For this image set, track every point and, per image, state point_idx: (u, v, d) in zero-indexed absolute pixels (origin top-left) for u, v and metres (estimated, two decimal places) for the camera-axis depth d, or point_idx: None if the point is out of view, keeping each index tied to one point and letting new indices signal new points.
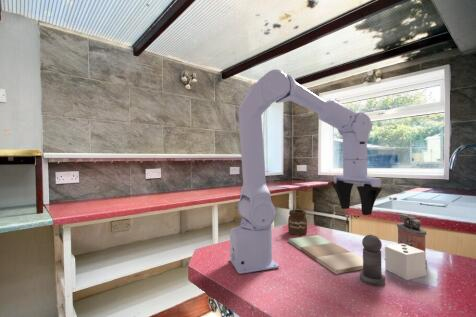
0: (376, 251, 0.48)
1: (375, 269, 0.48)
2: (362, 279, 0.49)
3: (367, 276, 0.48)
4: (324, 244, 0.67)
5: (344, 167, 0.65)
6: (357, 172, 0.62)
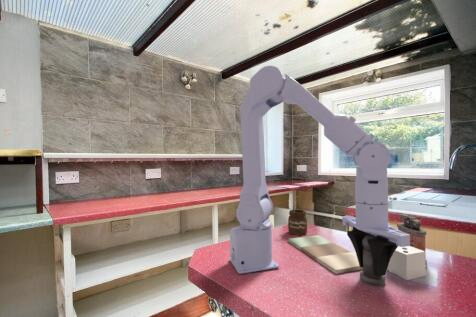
0: None
1: None
2: (362, 279, 0.49)
3: (367, 276, 0.48)
4: (324, 244, 0.67)
5: (357, 212, 0.49)
6: (375, 221, 0.46)
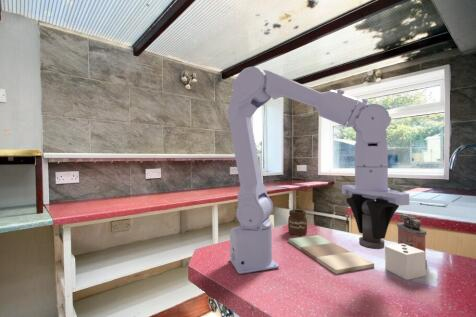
0: None
1: None
2: (361, 243, 0.49)
3: (366, 240, 0.48)
4: (324, 244, 0.67)
5: (357, 177, 0.49)
6: (375, 184, 0.46)
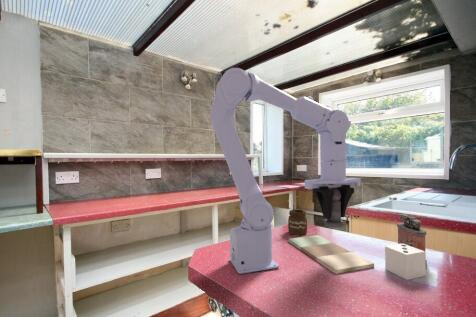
0: None
1: None
2: None
3: None
4: (324, 244, 0.67)
5: None
6: None
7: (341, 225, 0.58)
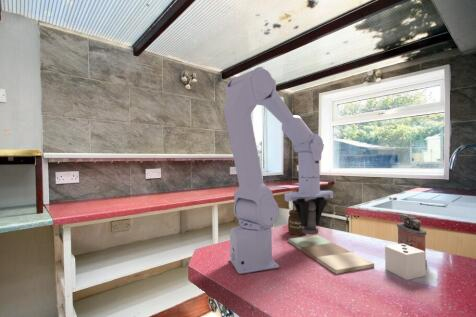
0: None
1: None
2: None
3: None
4: (324, 244, 0.67)
5: None
6: None
7: (315, 232, 0.68)
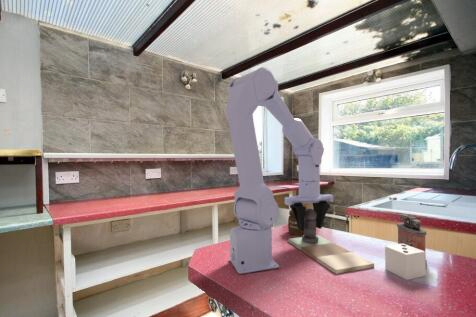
0: (305, 218, 0.70)
1: (304, 230, 0.70)
2: None
3: None
4: (324, 244, 0.67)
5: None
6: None
7: (315, 241, 0.68)
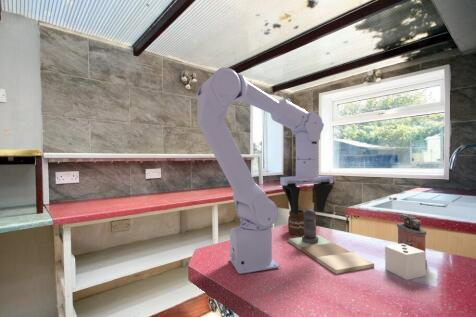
0: (305, 218, 0.70)
1: (304, 230, 0.71)
2: None
3: None
4: (324, 244, 0.67)
5: None
6: None
7: (315, 241, 0.68)
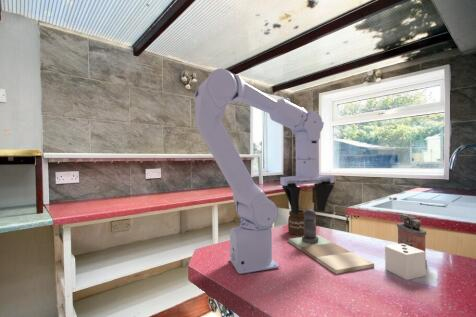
0: (305, 218, 0.70)
1: (304, 230, 0.71)
2: None
3: None
4: (324, 244, 0.67)
5: None
6: (296, 171, 0.65)
7: (315, 241, 0.68)
